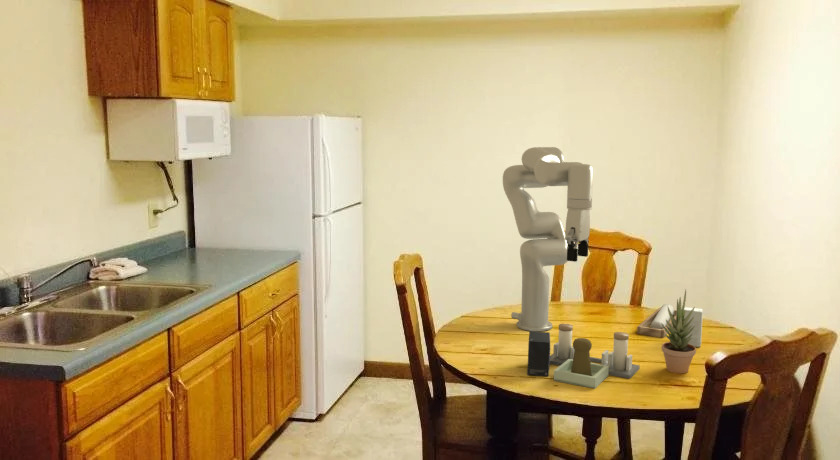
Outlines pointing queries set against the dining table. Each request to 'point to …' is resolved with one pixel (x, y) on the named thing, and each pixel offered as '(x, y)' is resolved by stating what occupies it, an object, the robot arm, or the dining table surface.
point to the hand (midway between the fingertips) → (577, 258)
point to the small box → (538, 353)
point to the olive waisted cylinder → (581, 357)
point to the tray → (593, 381)
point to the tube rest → (646, 330)
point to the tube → (662, 317)
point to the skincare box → (698, 326)
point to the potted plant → (678, 341)
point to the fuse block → (615, 360)
